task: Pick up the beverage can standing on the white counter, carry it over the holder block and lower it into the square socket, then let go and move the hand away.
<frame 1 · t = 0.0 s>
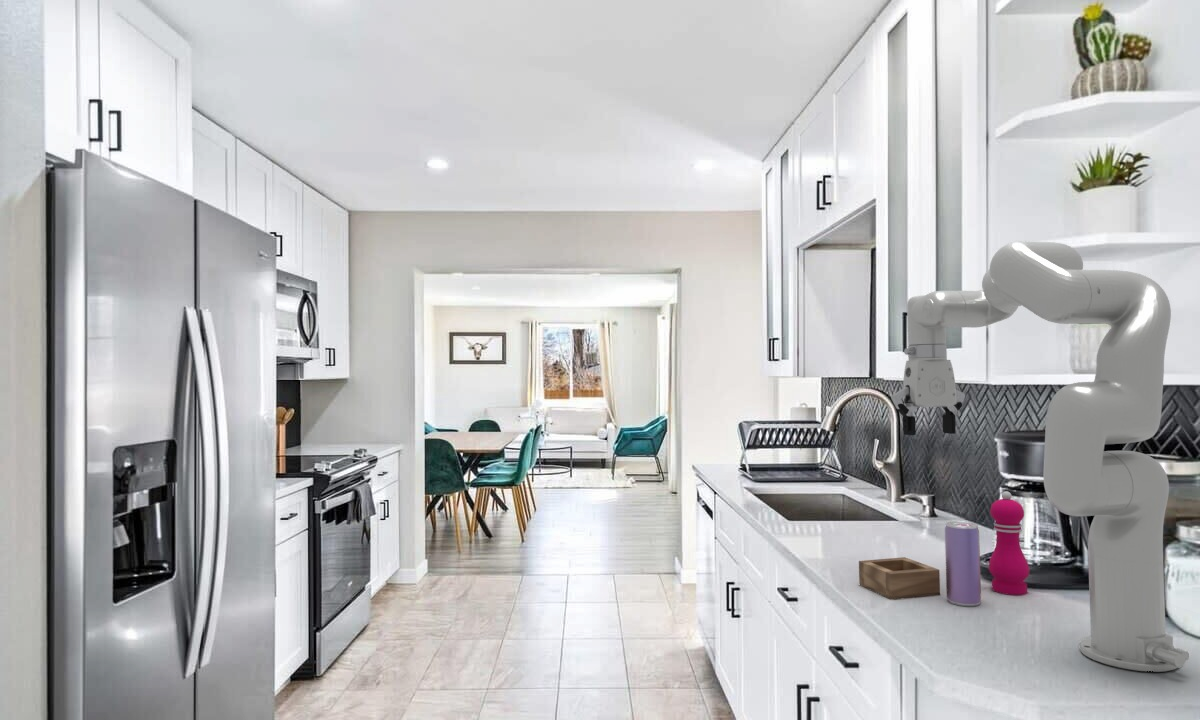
hand: (929, 434, 161), 31 cm above the worktop, tool pointing down, fingers open, 9 cm apart
pepper mill: (1009, 591, 153), on the worktop
beverage can: (963, 603, 145), on the worktop
holder: (898, 589, 155), on the worktop
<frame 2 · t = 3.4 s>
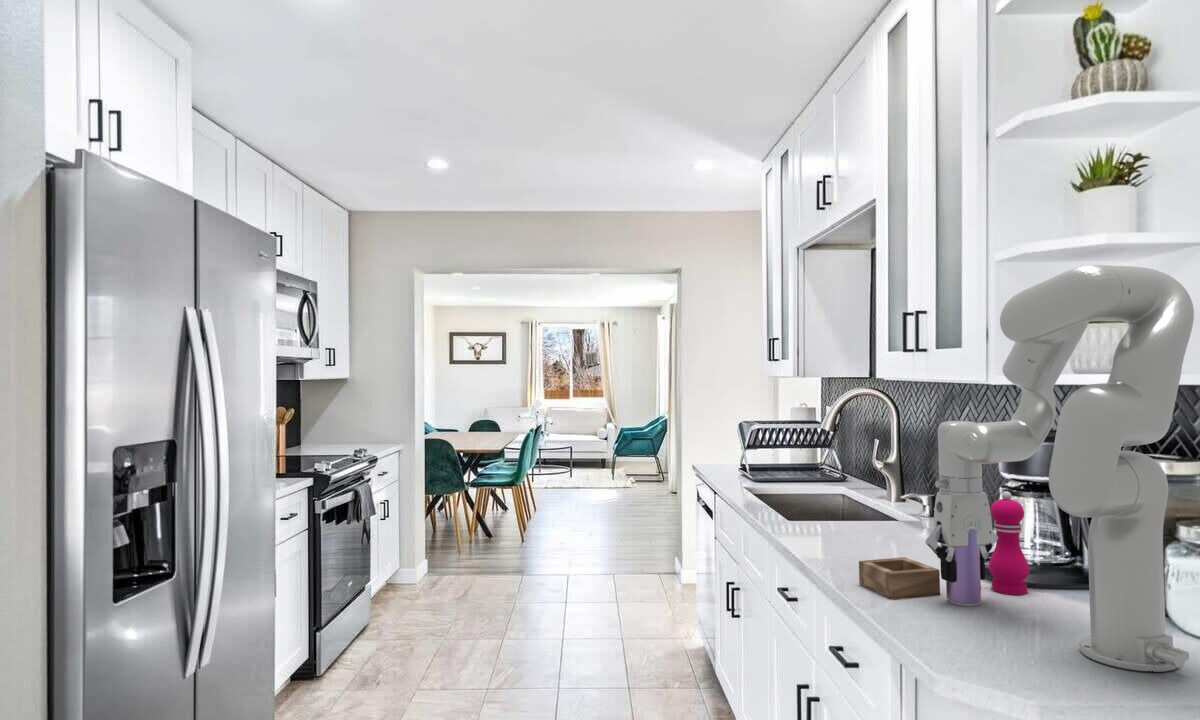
hand: (963, 578, 145), 5 cm above the worktop, tool pointing down, fingers closed on beverage can, 5 cm apart
beverage can: (963, 603, 145), on the worktop, touching gripper
everything else where it was.
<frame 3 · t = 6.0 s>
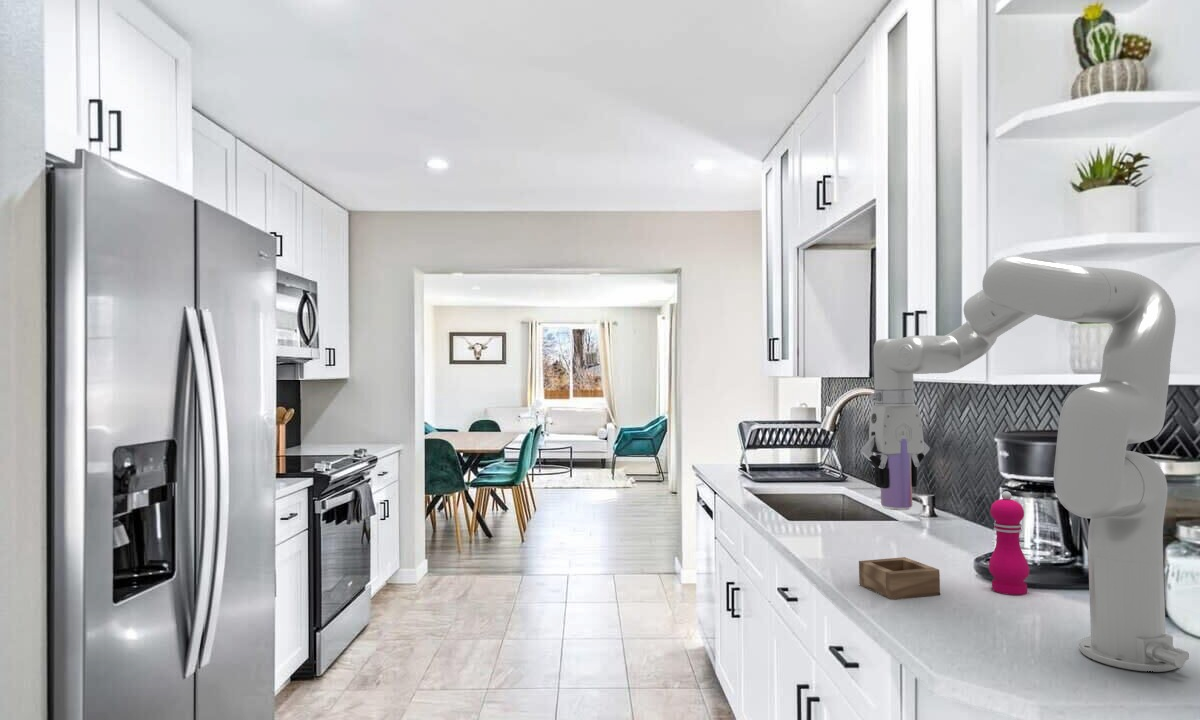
hand: (896, 485, 155), 21 cm above the worktop, tool pointing down, fingers closed on beverage can, 5 cm apart
beverage can: (896, 509, 155), point 16 cm above the worktop, touching gripper
everything else where it was.
when the fingers open (6 cm above the worktop, at t = 8.7 s): beverage can stays where it is, resting on holder.
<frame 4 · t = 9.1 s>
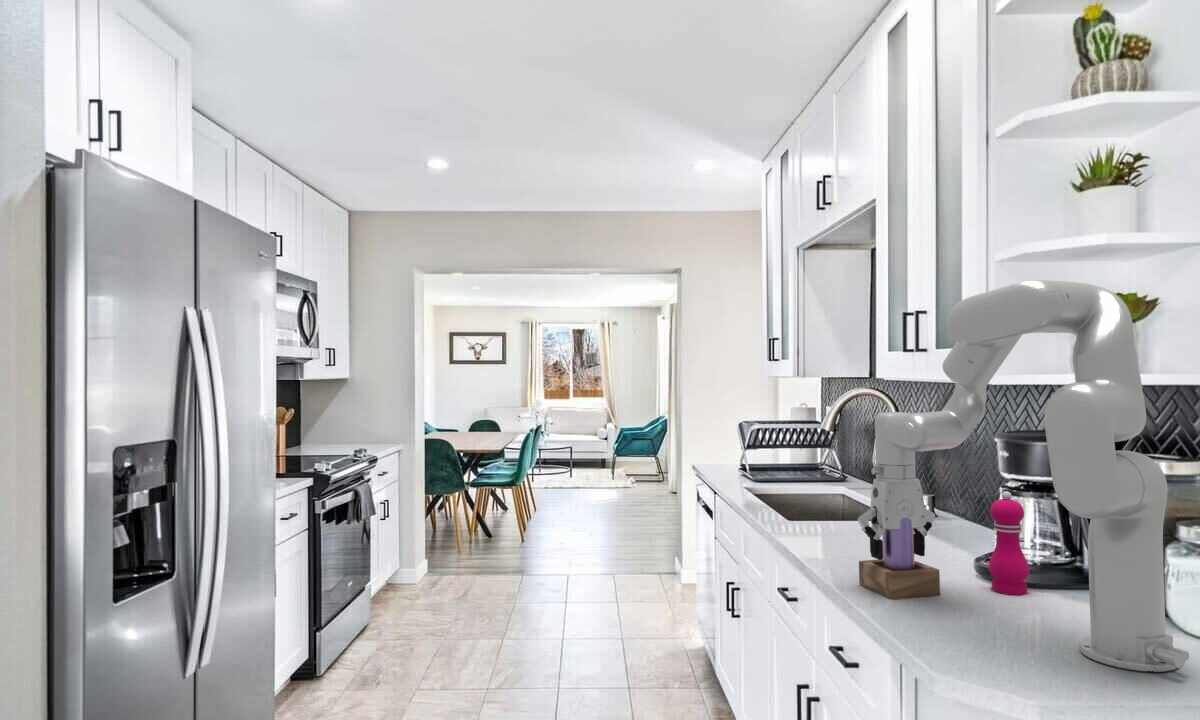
hand: (897, 556, 155), 7 cm above the worktop, tool pointing down, fingers open, 9 cm apart
beverage can: (899, 588, 154), resting on holder
everything else where it was.
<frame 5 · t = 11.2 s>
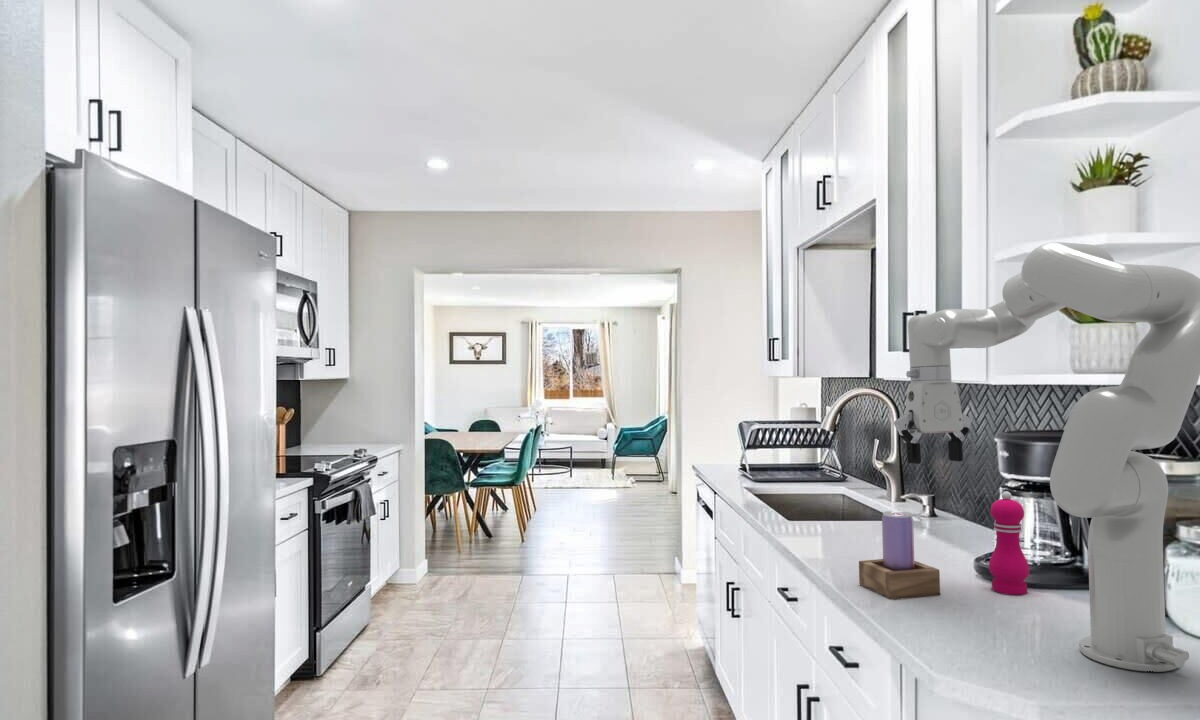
hand: (935, 462, 151), 26 cm above the worktop, tool pointing down, fingers open, 9 cm apart
nothing on the worktop moved.
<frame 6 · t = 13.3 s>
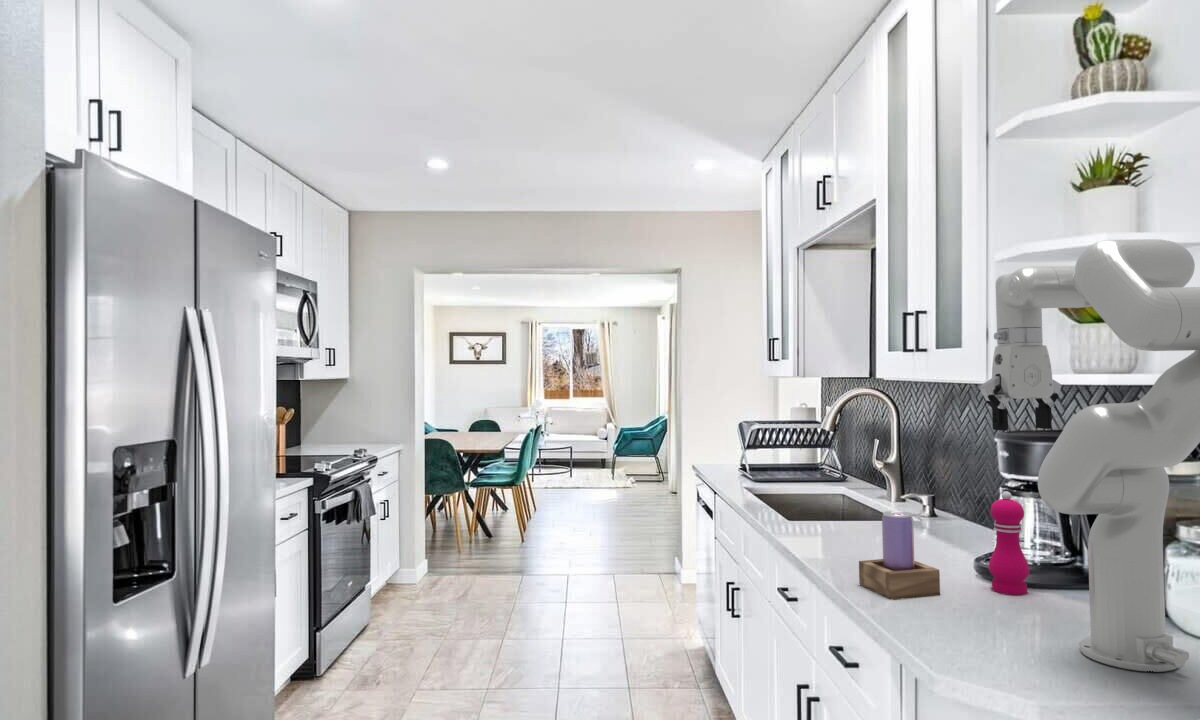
hand: (1022, 429, 142), 33 cm above the worktop, tool pointing down, fingers open, 9 cm apart
nothing on the worktop moved.
at the end: beverage can 0.2 cm off-centre on the holder, point 0.4 cm above the holder's base; beverage can tilted 0°; the gripper is holding nothing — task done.
